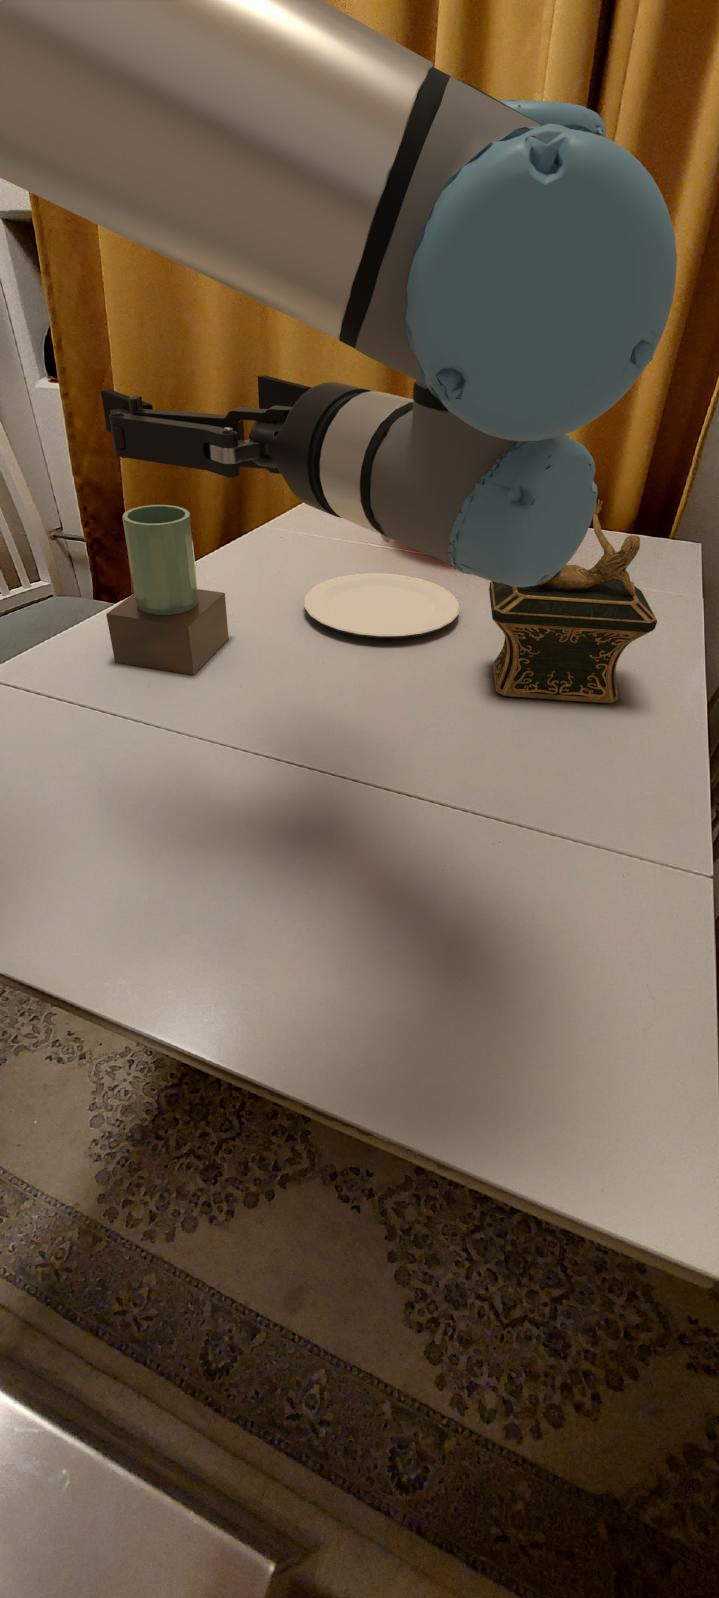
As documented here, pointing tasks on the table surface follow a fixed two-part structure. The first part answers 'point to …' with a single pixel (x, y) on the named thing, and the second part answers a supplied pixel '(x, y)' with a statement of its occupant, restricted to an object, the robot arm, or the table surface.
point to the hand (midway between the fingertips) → (189, 401)
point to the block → (169, 634)
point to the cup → (161, 559)
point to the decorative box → (570, 628)
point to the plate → (381, 605)
